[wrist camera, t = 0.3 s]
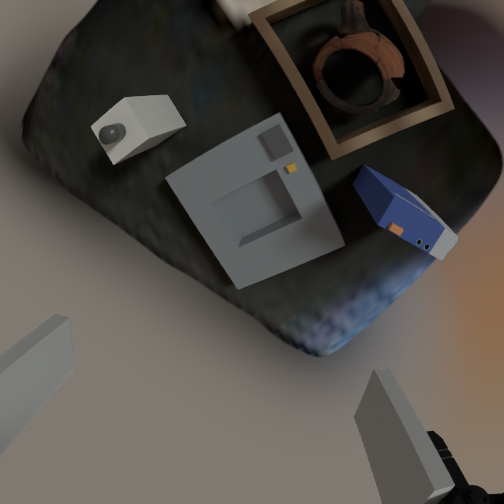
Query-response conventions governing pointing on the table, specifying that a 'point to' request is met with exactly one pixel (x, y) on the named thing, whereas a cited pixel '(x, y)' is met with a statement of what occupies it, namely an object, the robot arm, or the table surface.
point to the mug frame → (438, 103)
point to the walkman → (403, 213)
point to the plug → (137, 125)
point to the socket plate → (257, 203)
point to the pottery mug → (367, 44)
